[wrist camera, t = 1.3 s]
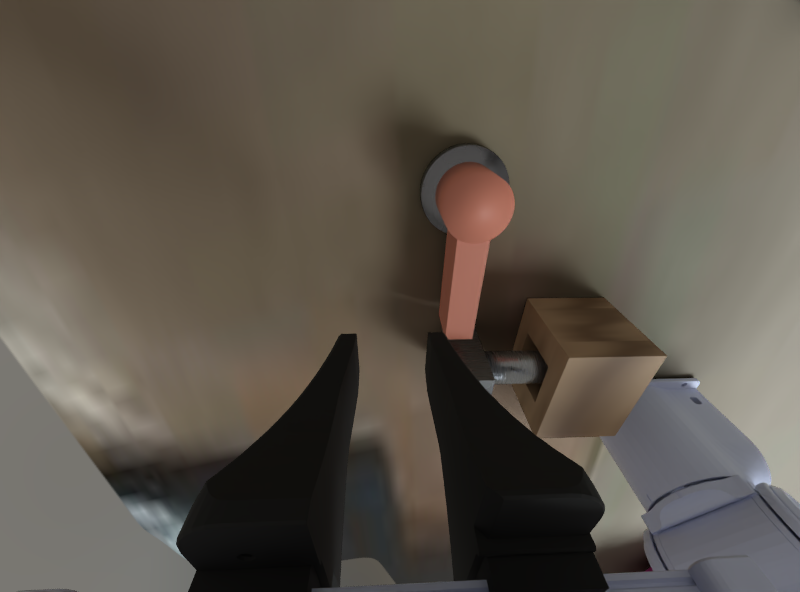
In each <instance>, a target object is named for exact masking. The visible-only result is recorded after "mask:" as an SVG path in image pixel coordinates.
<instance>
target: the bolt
mask: <svg viewBox="0 0 800 592" xmlns="http://www.w3.org/2000/svg"><path fill="white" fill-rule="evenodd" d="M441 332H443V329H442V331H441ZM449 341H450V343H451V345H452V346H453V348H454V349H455V351H456V352H457V354H458V355H459V356H460V358H461V359H462V361H463V362H464V363H465V365H466V366H467V367H468V368H469V370H470V371H471V372H472V374H473V375H474V376H475V377H476V379H477V380H478V381H479V382H480V383H481V384H482V386H483V387H484V388H485V389H486V390H487V391H488V392H489V393H490V394H492V391H493V387H494V384H534V383H543V380H544V378H545V375H546V373H547V370H548V366H547V364H546V362H545V361H544V359H543V357H542V356H541V354H540V352H539V351H538V350H527V351H484V350H483V348H482V345H481V343H480V340H479V337H478V335H477V332H476V330H475V327H474V332H473V337H472V339H451V340H449Z"/></svg>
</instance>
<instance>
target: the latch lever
mask: <svg viewBox="0 0 800 592" xmlns="http://www.w3.org/2000/svg"><path fill="white" fill-rule="evenodd" d="M435 200H436V205H437V208H438V210H439V212H440V215H441V217H442V219H443V221H444V223H445V225H446V227H447V239H446V249H445V259H444V268H443V278H442V288H441V298H440V307H439V317H440V321H441V325H442V329H443V333H444V334H445V335H446V336H447V338H448V340H451V339H472V337H473V332H474V326H475V321H476V316H477V310H478V305H479V299H480V294H481V288H482V283H483V277H484V272H485V267H486V261H487V256H488V250H489V245H490V240H491V239H493V238H495V237H496V236H498V235H499V234H500V233H501V232H502V231H503V230H504V229H505V228H506V227H507V225H508V224H509V222H510V220H511V218H512V216H513V212H514V207H515V200H514V194H513V191H512V189H511V187H510V186H509V184H508V183H507V182H506V181H505V180H504V179H502V178H501V177H499V176H498V175H497V174H495V173H494V172H492V171H491V170H490V169H488V168H487V167H485V166H484V165H482V164H480V163H476V162H463V163H460V164H457V165H455V166H453V167H452V168H450V169H449V170H448V171H447V172H446V173H445V174H444V175H443V176H442V178H441V179H440V181H439V183H438V185H437V189H436V194H435Z"/></svg>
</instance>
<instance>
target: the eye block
mask: <svg viewBox="0 0 800 592" xmlns="http://www.w3.org/2000/svg"><path fill="white" fill-rule="evenodd" d="M527 350H538V351H539V352H540V354H541V356H542V357H543V359H544V361H545V362H546V364H547V366H548V370H547V373H546V375H545V378H544V380H543V383H534V384H512V387H513V389H514V391H515V393H516V396H517V398H518V400H519V403H520V405H521V407H522V409H523V412H524V414H525V416H526V419H527V421H528V423H529V425H530V428H531V430H532V432H533V433H534V434H535V435H536V436H538V437H539V438H565V437H597V436H615V435H616V434H617V432H618V431H619V429H620V428H621V426H622V425H623V423H624V421H625V420H626V418H627V417H628V415H629V414H630V412H631V411H632V409H633V408H634V406H635V405H636V403H637V402H638V400H639V398H640V397H641V395H642V394H643V392H644V391H645V389H646V388H647V386H648V385H649V383H650V382H651V380H652V379H653V377H654V375H655V374H656V372H657V371H658V369H659V368H660V366H661V365H662V363H663V362H664V360H665V359H666V357H667V355H666V354H665V353H663V352H662V351H661V350H660V349H659V348H658V347H657V346H656V345H655V344H654V343H653V342H652V341H650V340H649V339H648V338H647V337H646V336H645V335H644V334H643V333H642V332H641V331H640V330H639V329H637V328H636V327H635V326H634V325H633V324H632V323H631V322H630V321H629V320H628V319H627V318H626V317H624V316H623V315H622V314H621V313H620V312H619V311H618V310H617V309H616V308H615V307H614V306H613V305H611V304H610V303H609V302H608V301H607V300H606V299H605V298H604V297H603V298H527V301H526V305H525V308H524V312H523V316H522V319H521V323H520V326H519V330H518V333H517V337H516V340H515V344H514V347H513V351H527Z"/></svg>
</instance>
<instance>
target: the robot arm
mask: <svg viewBox="0 0 800 592" xmlns="http://www.w3.org/2000/svg"><path fill="white" fill-rule="evenodd" d="M425 373H426V383H427V392H428V397H429V401H430V406H431V411H432V415H433V420H434V424H435V429H436V434H437V438H438V443H439V448H440V454H441V462H442V470H443V478H444V487H445V496H446V505H447V514H448V524H449V533H450V544H451V554H452V565H453V576H454V581H450V582H430V583H411V584H392V585H372V586H353V587H340V573H341V555H342V537H343V521H344V505H345V490H346V476H347V463H348V453H349V445H350V439H351V433H352V427H353V421H354V415H355V409H356V403H357V397H358V386H359V359H358V346H357V334H341V335H340V336H339V337H338V339H337V341H336V343H335V345H334V347H333V348H332V350H331V352H330V354H329V355H328V357H327V359H326V360H325V362H324V363H323V365H322V366H321V368H320V369H319V371H318V372H317V374H316V375H315V377H314V378H313V379H312V381H311V382H310V383H309V385H308V386H307V387H306V389H305V390H304V391H303V393H302V394H301V395H300V396H299V398H298V399H297V400H296V401H295V402H294V403H293V405H292V406H291V407H290V408H289V409H288V410H287V411H286V412H285V413H284V414H283V416H282V417H281V418H280V419H279V420H278V421H277V422H276V423H275V424H274V425H273V426H272V427H271V428H270V429H269V430H268V431H267V432H266V433H265V434H263V435H262V436H261V437H260V438H259V439H258V440H257V441H256V442H254V443H253V444H252V445H251V446H250V447H249V448H248V449H247V450H246V451H244V452H243V453H242V454H241V455H240V456H238V457H237V458H236V459H235V460H233V461H232V462H231V463H230V464H228V465H227V466H226V467H224V468H223V469H222V470H221V471H219V472H218V473H217V474H215V475H214V476H213V477H212V478H210V479H209V480H208V481H206V483H205V485H204V486H203V488H202V490H201V491H200V493H199V495H198V496H197V498H196V500H195V502H194V503H193V505H192V507H191V509H190V512H189V514H188V516H187V518H186V520H185V522H184V524H183V526H182V529H181V531H180V533H179V535H178V537H177V542H176V545H177V547H178V549H179V551H180V552H181V554H182V555H183V556H184V557H185V558H186V559H187V560H188V561H189V562H190V564H192V566H193V567H194V568H195V569H196V570H197V571H196V573H195V576H194V578H193V581H192V583H191V586H190V589H189V591H188V592H800V504H799V503H798V502H797V501H796V500H795V499H794V498H793V497H792V496H790V495H789V494H788V493H787V492H786V491H784V490H783V489H781V488H779V487H775V486H772V485H771V474H770V470H769V467H768V465H767V463H766V461H765V459H764V457H763V455H762V454H761V452H760V451H759V449H758V448H757V447H756V446H755V445H754V444H753V442H752V441H751V440H750V439H749V438H747V437H746V436H745V435H744V434H743V433H742V432H741V431H740V430H739V429H738V428H737V427H736V426H735V425H734V424H733V423H732V422H731V421H729V420H728V419H727V418H726V417H725V416H724V415H723V414H722V413H721V412H720V411H719V410H718V409H717V408H716V407H715V406H714V405H712V404H711V403H710V402H709V401H708V400H707V399H706V398H705V397H704V396H703V395H702V394H701V393H700V392H699V391H698V390H697V389H696V388H697V387H698V385H699V384H700V381H699V380H697V379H696V378H677V379H652V380H651V382H650V383H649V385H648V386H647V388H646V389H645V391H644V392H643V394H642V395H641V397H640V398H639V400H638V402H637V403H636V405H635V406H634V408H633V409H632V411H631V412H630V414H629V415H628V417H627V418H626V420H625V421H624V423H623V425H622V426H621V428H620V429H619V431H618V432H617V434H616V435H615V436H599V437H600V438H601V440H602V442H603V443H604V445H605V446H606V448H607V450H608V451H609V453H610V454H611V456H612V458H613V459H614V461H615V462H616V464H617V465H618V467H619V469H620V470H621V472H622V473H623V475H624V477H625V478H626V480H627V481H628V483H629V485H630V486H631V488H632V489H633V491H634V493H635V494H636V496H637V497H638V499H639V500H640V502H641V504H642V505H643V507H644V508H645V510H646V512H647V513H646V514H644V515H642V516H641V517H642V519H643V520H644V522H645V524H646V525H647V527H648V529H646V530H645V531H644V534H643V539H644V550H645V554H646V556H647V559H648V561H649V564H650V566H651V568H652V570H653V571H647V572H627V573H607V574H603V573H602V571H601V569H600V566H599V564H598V562H597V560H596V558H595V555H594V553H593V552H595V551H596V546H595V543H594V541H593V539H592V537H591V535H590V532H591V531H592V529H593V528H594V527H595V526H596V524H597V523H598V522H599V521H600V519H601V518H602V516H603V514H604V511H605V505H604V503H603V501H602V499H601V497H600V495H599V494H598V492H597V490H596V488H595V486H594V485H593V483H592V481H591V480H590V478H589V477H588V475H587V474H586V472H585V471H584V469H583V468H582V467H581V466H580V465H578V464H577V463H575V462H573V461H572V460H570V459H569V458H567V457H566V456H564V455H563V454H561V453H560V452H558V451H557V450H555V449H554V448H552V447H551V446H550V445H548V444H547V443H546V442H544V441H543V440H542V439H540V438H539V437H538V436H536V435H535V434H534V433H532V432H531V431H530V430H529V429H528V428H526V427H525V426H524V425H523V424H522V423H520V422H519V421H518V420H517V419H516V418H514V417H513V416H512V415H511V414H510V413H509V412H508V411H507V410H506V409H505V408H504V407H503V406H501V405H500V404H499V403H498V402H497V401H496V400H495V398H494V397H493V396H492V395H491V394H490V393H489V392H488V391H487V390H486V389H485V388H484V387H483V386H482V384H481V383H480V382H479V381H478V380H477V379H476V377H475V376H474V375H473V374H472V372H471V371H470V370H469V368H468V367H467V366H466V365H465V363H464V362H463V361H462V359H461V358H460V356H459V355H458V354H457V352H456V351H455V349H454V348H453V346H452V345H451V343H450V341H449V340H448V338H447V336H446V335H445V334H444V333H443V332H435V333H428V340H427V352H426V364H425ZM770 485H771V486H770ZM17 592H77V591H74V590H69V589H47V590H46V589H45V590H25V591H17Z"/></svg>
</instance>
